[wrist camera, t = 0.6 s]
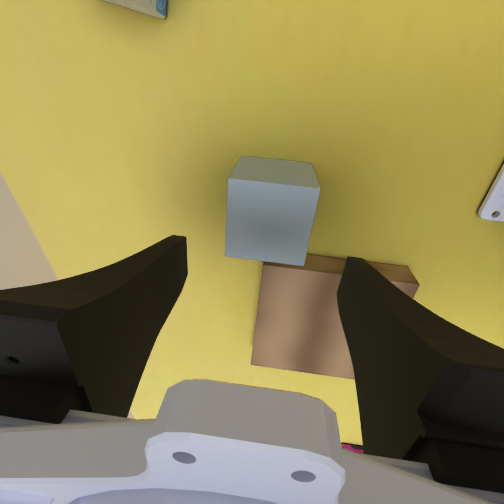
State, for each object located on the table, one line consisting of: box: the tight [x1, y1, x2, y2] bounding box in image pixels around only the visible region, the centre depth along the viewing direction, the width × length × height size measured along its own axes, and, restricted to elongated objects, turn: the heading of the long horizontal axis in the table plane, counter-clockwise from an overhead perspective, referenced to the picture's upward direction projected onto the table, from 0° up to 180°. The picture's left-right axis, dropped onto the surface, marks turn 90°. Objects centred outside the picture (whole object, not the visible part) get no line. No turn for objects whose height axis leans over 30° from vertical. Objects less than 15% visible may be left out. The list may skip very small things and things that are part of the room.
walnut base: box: [251, 254, 420, 379], centre depth 26 cm, size 12×12×2 cm
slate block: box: [225, 155, 321, 266], centre depth 19 cm, size 5×5×6 cm
